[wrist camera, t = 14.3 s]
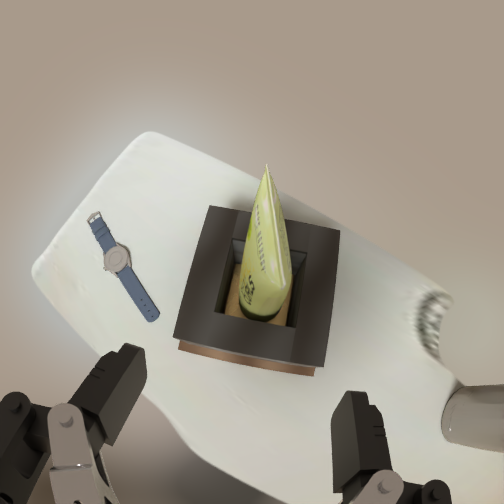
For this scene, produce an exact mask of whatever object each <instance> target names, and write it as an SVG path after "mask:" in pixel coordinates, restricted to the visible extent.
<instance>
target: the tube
mask: <svg viewBox="0 0 504 504" xmlns="http://www.w3.org/2000/svg"><path fill="white" fill-rule="evenodd" d="M291 278H292V269H291V259H290V252H289V245H288V238H287V232H286V227H285V221H284V217H283V212H282V208H281V204H280V200H279V197H278V194H277V190H276V187H275V185H274V182H273V179H272V177H271V175H270V172H269V169H268V165H267V164H266V167H265V172H264V175H263V177H262V180H261V182H260V185H259V188H258V192H257V195H256V199H255V203H254V206H253V211H252V215H251V219H250V224H249V229H248V233H247V238H246V243H245V248H244V253H243V259H242V265H241V272H240V281H239V305H240V309H241V311H242V313H243V314H244V315H245V316H246V317H247V318H248V319H250V320H255V321H260V322H267V321H269V320H271V319H273V318H274V317H275V316H276V315H277V314H278V313H279V311H280V310H281V308H282V305H283V303H284V301H285V299H286V296H287V294H288V291H289V288H290V284H291Z"/></svg>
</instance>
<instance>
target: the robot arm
mask: <svg viewBox="0 0 504 504" xmlns="http://www.w3.org/2000/svg"><path fill="white" fill-rule="evenodd" d="M146 379H147V368H146V359H145V351H144V349H143V348H141V347H138V346H135V345H132V344H129V343H125V344H124V345H123V346H122V347H121V349H120V350H119V351H118V353H116V352H114V351H111V352H109V353H107V354H106V355H104V356H102V357H101V358H100V360H99V361H98V362H97V364H96V365H95V368H93V369H92V370H91V372H90V374H89V375H88V376H87V377H86V379H85V380H84V381H83V383H82V384H81V385H80V387H79V388H78V390H77V391H76V392H75V394H74V395H73V396H72V398H71V399H70V400H69V402H68V403H62V404H58V405H56V406H54V407H53V408H51V407H45V406H41V405H36V404H33V403H31V402H30V400H29V399H28V397H27V396H26V395H25V394H23V393H21V392H11V393H9V394H7V395H6V396H5V397H4V398H3V399H2V401H1V402H0V504H27V501H28V499H29V497H30V495H31V493H32V491H33V488H34V486H35V484H36V482H37V480H38V478H39V476H40V474H41V472H42V470H43V468H44V466H45V464H46V462H47V460H48V458H49V456H50V454H52V460H53V468H51V469H50V480H51V485H52V489H53V494H54V498H55V502H56V504H119V502H118V500H117V498H116V496H115V494H114V492H113V489H112V487H111V484H110V481H109V478H108V474H107V471H106V468H105V465H104V461H103V458H102V454H101V451H100V449H101V447H102V445H103V444H104V443H106V444H108V445H111V446H113V444H114V443H115V441H116V439H117V437H118V435H119V433H120V431H121V429H122V427H123V425H124V423H125V421H126V420H127V418H128V416H129V414H130V412H131V410H132V408H133V406H134V404H135V402H136V401H137V399H138V397H139V395H140V393H141V392H142V390H143V388H144V386H145V383H146ZM442 432H443V435H444V437H445V439H446V440H447V441H449V442H451V443H455V444H459V445H464V446H468V447H473V448H478V449H483V450H488V451H494V452H500V453H504V384H500V385H487V386H485V385H484V386H466V387H463V388H461V389H459V390H458V391H457V392H456V393H454V394H453V396H452V397H451V398H450V400H449V402H448V403H447V405H446V408H445V410H444V413H443V417H442ZM385 435H386V433H385V428H384V423H383V418H382V415H381V413H380V412H379V410H378V409H377V407H376V406H375V405H369V401H368V396H367V393H366V392H360V391H346V392H345V394H344V396H343V397H342V399H341V401H340V403H339V404H338V406H337V408H336V409H335V411H334V413H333V415H332V419H331V440H332V463H333V493H343V499H342V500H341V501H340V502H339V503H338V504H452V501H451V495H450V490H449V487H448V486H447V484H446V483H445V482H443V481H441V480H431V481H429V482H428V483H426V484H425V485H420V484H414V483H409V482H405V481H403V480H402V478H401V477H400V476H399V475H398V474H397V473H396V472H394V471H393V469H392V466H391V460H390V454H389V448H388V443H387V438H386V437H385Z"/></svg>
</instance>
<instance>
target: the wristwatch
mask: <svg viewBox="0 0 504 504" xmlns="http://www.w3.org/2000/svg"><path fill="white" fill-rule="evenodd" d="M97 214H99V215H100V213H99V212H96V213H93V214H91V215H90V217H89V218H88V219H87V222H88V221H89V220H91V219H92V218H93V217H95V216H96V215H97ZM93 219H94V218H93ZM94 220H95V219H94ZM88 224H89V222H88ZM89 226H90V227H91V229H92V232H93V234H94V235H95V238H96V240H97V241H98V242H99V244H100V246H101V248H102V249H103V251H104V252H103V256H104V266H105V267H104V270H105V271H106V270H108V271H110V272H111V273H112V274H114V275H115V276H116V277H117V278H118V277H119V279H120V281H121V282H122V284H123V285H124V287H125V289H126V290H127V292H128V293H129V295H130V296H131V298H132V299H133V301H134V303H135V304H136V306H137V307H138V309H139V310H140V312H141V313H142V314H143V316H144V317H145V319H146V320H147V321H148V322H153V321H155V320H156V319H157V318H158V317H159V314H160V313H159V311H158V310H157V308H156V307H155V305H154V304H153V302H152V301H151V299H150V298H149V296H148V295H147V293H146V291H145V290H144V288H143V287H142V285H141V284H140V282H139V280H138V279H137V277H136V276H135V274H134V272H133V271H132V269H131V267H132V266H131V262H130V256H129V253H128V251H127V250H126V249H125V248H124V247H122V246H120V245H119V244H118V243H115V241H114V239H113V238H112V236H111V234H110V231H109V229H108V228H107V227H106V224H105V222H103V220H102V218H101V215H100V217H99V218H97V219H96V220H95V221H93V222H92V223H91V224H89ZM127 265H128V266H127ZM126 266H127V267H126ZM117 272H119V273H118V274H116V273H117ZM142 299H143V300H142ZM141 300H142V301H141ZM145 305H146V306H145ZM148 311H149V312H148Z"/></svg>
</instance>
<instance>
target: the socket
mask: <svg viewBox="0 0 504 504" xmlns="http://www.w3.org/2000/svg"><path fill="white" fill-rule="evenodd" d="M251 215H252V213H251V212H245V211H240V210H234V209H229V208H223V207H217V206H211V205H209V209H208V212H207V215H206V218H205V221H204V225H203V228H202V231H201V235H200V238H199V241H198V245H197V248H196V252H195V255H194V259H193V262H192V266H191V269H190V273H189V276H188V280H187V284H186V287H185V291H184V295H183V298H182V302H181V306H180V310H179V314H178V318H177V322H176V326H175V330H174V334H173V337H174V338H176V339H179V340H180V343H179V347H178V349H179V350H182V351H186V352H190V353H194V354H198V355H202V356H206V357H210V358H214V359H219V360H223V361H228V362H232V363H237V364H242V365H247V366H252V367H257V368H263V369H268V370H274V371H280V372H286V373H292V374H299V375H306V376H314V371H315V367H324V362H325V356H326V350H327V343H328V337H329V330H330V323H331V316H332V308H333V300H334V292H335V283H336V274H337V263H338V252H339V240H340V230H336V229H331V228H326V227H321V226H317V225H312V224H307V223H302V222H297V221H292V220H287V219H284V221H285V227H286V232H287V238H288V245H289V252H290V259H291V269H292V274H293V275H294V277H293V283H292V289H291V295H290V301H289V307H288V313H287V318H286V324H285V326H281V325H275V324H270V323H265V322H260V321H255V320H250V319H245V318H240V317H235V316H230V315H226V314H225V309H226V305H227V301H228V296H229V292H230V288H231V283H232V279H233V275H234V271H235V266H236V263H237V264H242V259H243V253H244V248H245V243H246V238H247V233H248V229H249V224H250V219H251Z"/></svg>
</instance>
